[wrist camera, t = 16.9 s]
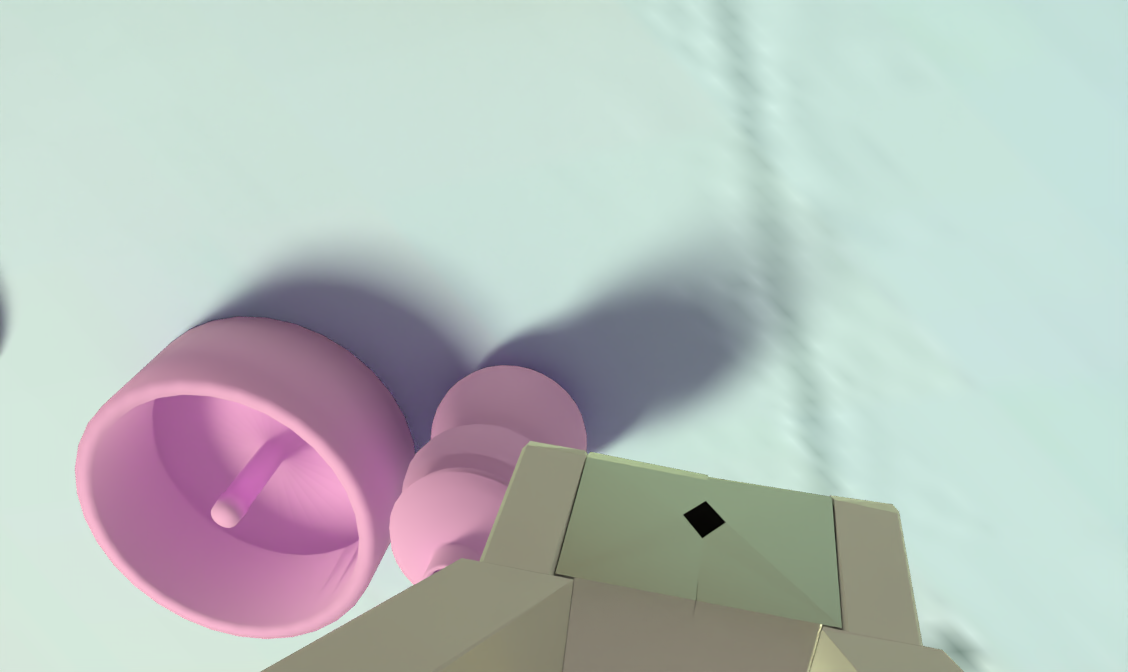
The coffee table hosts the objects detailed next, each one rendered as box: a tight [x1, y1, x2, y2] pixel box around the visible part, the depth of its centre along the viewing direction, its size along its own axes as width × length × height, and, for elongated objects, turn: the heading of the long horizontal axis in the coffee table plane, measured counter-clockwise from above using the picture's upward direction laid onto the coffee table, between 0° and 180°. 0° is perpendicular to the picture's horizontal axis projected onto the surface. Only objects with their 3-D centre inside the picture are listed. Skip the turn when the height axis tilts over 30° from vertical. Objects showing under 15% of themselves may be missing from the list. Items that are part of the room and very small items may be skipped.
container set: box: [75, 316, 587, 639], centre depth 50 cm, size 25×15×13 cm, turn 104°
